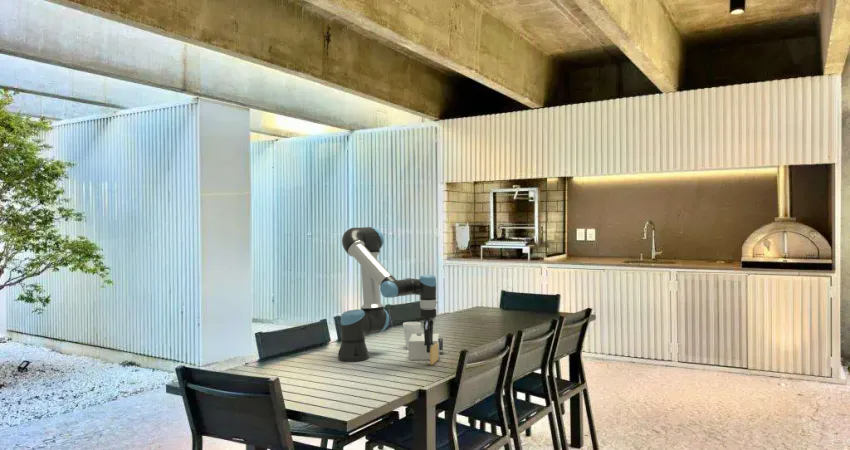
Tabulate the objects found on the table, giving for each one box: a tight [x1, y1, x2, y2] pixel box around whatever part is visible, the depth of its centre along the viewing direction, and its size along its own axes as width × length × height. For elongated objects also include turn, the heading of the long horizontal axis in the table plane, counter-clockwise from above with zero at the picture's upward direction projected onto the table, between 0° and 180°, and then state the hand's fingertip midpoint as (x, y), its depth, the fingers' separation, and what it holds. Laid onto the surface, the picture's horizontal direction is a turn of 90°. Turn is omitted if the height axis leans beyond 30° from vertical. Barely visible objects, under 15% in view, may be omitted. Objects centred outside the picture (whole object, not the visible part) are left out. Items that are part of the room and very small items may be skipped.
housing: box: [408, 332, 444, 361], centre depth 299 cm, size 20×16×10 cm
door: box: [429, 343, 440, 366], centre depth 283 cm, size 1×13×8 cm, turn 164°
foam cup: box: [402, 321, 422, 350], centre depth 320 cm, size 10×9×13 cm
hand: (428, 359), depth 280 cm, fingers closed
